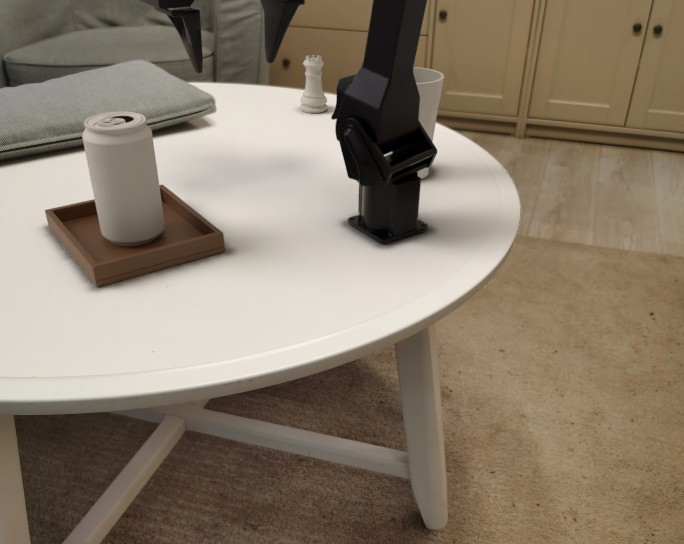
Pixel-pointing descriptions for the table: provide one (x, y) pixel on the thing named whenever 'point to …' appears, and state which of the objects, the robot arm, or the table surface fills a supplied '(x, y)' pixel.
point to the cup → (428, 101)
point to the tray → (129, 261)
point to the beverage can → (124, 177)
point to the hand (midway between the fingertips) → (235, 67)
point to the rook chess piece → (313, 86)
